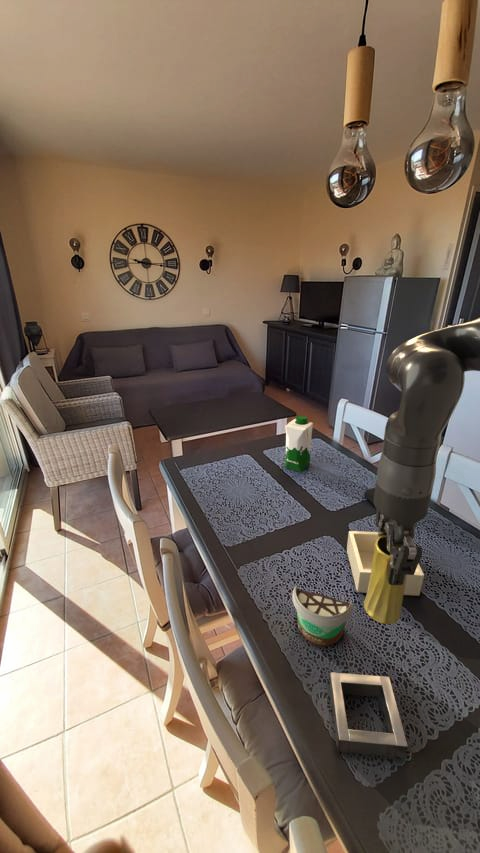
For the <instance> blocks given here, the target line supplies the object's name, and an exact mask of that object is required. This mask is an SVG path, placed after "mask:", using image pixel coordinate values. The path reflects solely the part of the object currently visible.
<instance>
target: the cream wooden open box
mask: <svg viewBox="0 0 480 853" xmlns="http://www.w3.org/2000/svg"><path fill="white" fill-rule="evenodd" d="M378 538H379V536H378V531H360V530H349V531H348V535H347V545H346V552H347V557H348V561H349V565H350V569H351V574H352V577H353V582H354V586H355V590H356V592H357V593H364V594H365V593H366V594H367V591H368V585H369V580H370V575H371V570H372V563H373V556H374V548H375V543H376V540H377V539H378ZM424 579H425V574H424V572H423V570H422V568H421V566H420V562H419V563H418V566H417V568H416V571H415V573H414V575H407V576H406V582H405V588H404V594H403V596H417V597H419V596H420V595H421V591H422V586H423V582H424Z"/></svg>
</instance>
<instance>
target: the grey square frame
mask: <svg viewBox="0 0 480 853" xmlns="http://www.w3.org/2000/svg"><path fill="white" fill-rule="evenodd" d="M329 673H330V674H329V682H328V685H329V686H328V687H329V693H330V694H329V695H330V703H331V709H332V710H331V711H332V718H333V725H334V733H335V741H336V742H335V743H336V749H337V750H336V751H337V752H338V753H348V754H349V753H350V754H359V755H370V756H380V757H388V758H389V757H390V758H399V759H405V758H406V755H407V751H408V747H409V746H408V742H407V738H406V734H405V731H404V726H403V723H402V720H401V716H400V712H399V708H398V705H397V700H396V698H395V693H394V689H393V686H392V683H391V679H390V676H383V675H372V674H371V675H370V674H357V673H344V672H332V671H331V672H329ZM344 695H352V696H353V695H354V696H364V697H365V696H366V697H377V698H379V700H380V704H381V707H382V712H383V717H384V721H385V725H386V729H387V732H382V731H373V730H372V731H370V730H360V729H349V727H348V720H347V713H346V705H345V699H344Z"/></svg>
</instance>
